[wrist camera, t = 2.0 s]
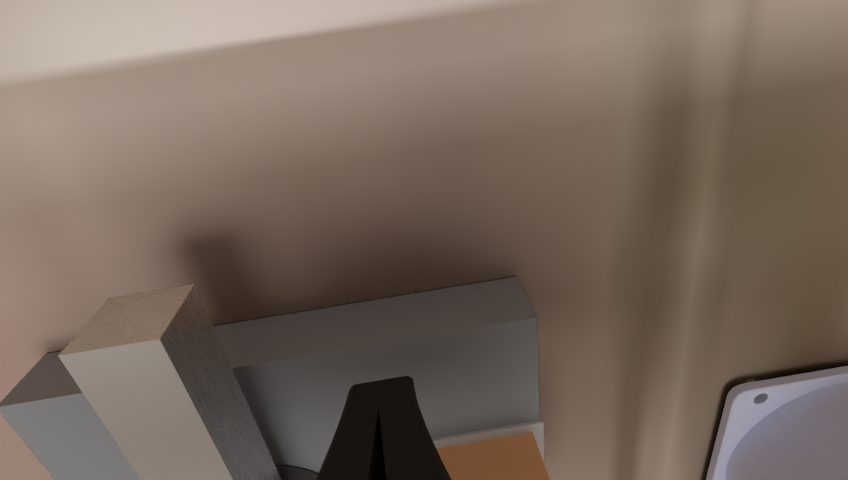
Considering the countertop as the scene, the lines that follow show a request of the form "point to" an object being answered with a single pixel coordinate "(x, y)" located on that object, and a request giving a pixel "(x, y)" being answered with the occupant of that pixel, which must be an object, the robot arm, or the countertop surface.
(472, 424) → the box
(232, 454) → the lever handle
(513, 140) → the countertop surface
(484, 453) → the orange cube
